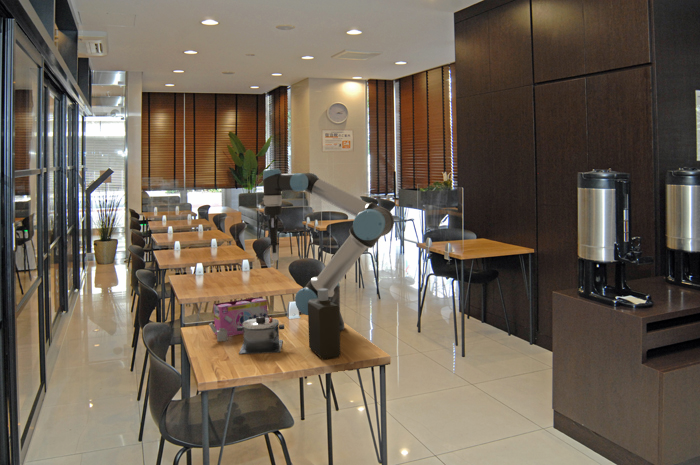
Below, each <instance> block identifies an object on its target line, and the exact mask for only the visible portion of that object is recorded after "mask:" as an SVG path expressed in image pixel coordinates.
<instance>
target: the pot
mask: <svg viewBox="0 0 700 465" xmlns="http://www.w3.org/2000/svg"><path fill="white" fill-rule="evenodd" d="M242 330H243V334H242V336H243V343H242V345H241V347H240V350H239V353H238V354H239V355H253V354H254V355H256V354H277V353H279V354H280V353H281V352H282V347H283V346H282V345H283V342H284V339H280V335H279V334H280V332H279V330H285V324H279V325H278V326H276V327H274V328H270V329H263V330H251V329H246V328H244V327H243V326H238V327H237V331H242Z"/></svg>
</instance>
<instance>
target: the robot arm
mask: <svg viewBox="0 0 700 465" xmlns="http://www.w3.org/2000/svg"><path fill="white" fill-rule="evenodd" d="M262 173H263V175H262V184H263V198H262V201H263V205H265V206H264V207H263V208H264V209H263V210H264V211H263V212H264V213H263V214H264V216H269V218H268V224H269V225H268V226H269V227H268V228H269V234H270V235H269V236H270V237H269V238H270V243H269V247H270V253H271V254H270V256H271V261H278V260H279V251H278V250H279V247H278V245H280V242H279V241H278V229H279V218H277V216H280V215H282V213H283V207H282V204H283V199H282V198H283V197H282V192H297V193H298V192H306V193H309V194H311V195H313V196H315V197H317V198H319V199H320V200H323V201H325V202H327V203H328V204H330V205H333V206H335V207H336V208H338V209H339V210H342V211H343V212H345V213H348V214H349V215H352V216H354V219H353V223H352V226H350V228H349V229H348V230H349V231H348V232H349V236H348V237H347V238H346V240H344V242H343V244H342V245H341V246H340V247H339V249H338V250H337V251H336V252H335V254H334V255H333V256H332V257H331V259H330V260H329V261H328V262H327V264H326V265H325V267H323V269H322V270H321V272H320V273H319V274H318V275H317V276H313V277H311V279H310V280H309V281H308V282H307V284H306V285H305V286H304V287H302V288H300V289H299V290H298V291H297V292H296V293H295V296H294V298H295V299H294V301H295V306H296V308H297V310H298V311H299V312H301V314H303V315H305V316H308V301H309V300H310V299H318V289H322V288H324V289H328V300H329V301H331V302H332V303H334V304H336V305H337V306H338V307H339V316H340V332H342V331H344V329H345V322H344V321H345V320H344V319H343V317H342V314H341V313H342V312H341V291H340V289H341V286H340V282H341V281H342V280H343V278H344V277H345V276H346V275H347V273H349V271H350V270H351V269H352V268H353V266H354V265H355V263H356V262H357V261H358V260H359V258H360V257H361V256H362V255H363V254H364V252H365V251H366V250H367V249H371V248H373V247H374V246H375V245H376V243H377V242H378V241H379V239H380V238H382V237H383V236H386V235H388V234H389V233H390V232H391V231H392V230H393V228H394V226H395V225H394V224H395V218H394V215H393V214H392V212H391V211H390V210H389V209H387V208H385V207H383V206H380V205H378V204H376V203H375V202H373V201H372V202H366V201H365V200H362V199H361V198H359V197H357V196H355V195H353V194H351V193H349V192H347V191H345V190H343V189H341V188H340V187H339V188H338V187H337V186H335V185H333V184H331V183H329V182H327V181H325V180H323V179H321V178H319V177H318V176H317V175H316V174H314V173H311V172H305V173H302V172H301V173H300V172H296V173H295V172H294V173H293V172H292V173H282V172H281V169H279V168H277V169H276V168H273V169H272V168H271V169H270V168H268V169H266V168H265V169H264V170H263V171H262Z"/></svg>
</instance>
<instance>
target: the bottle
mask: <svg viewBox="0 0 700 465" xmlns="http://www.w3.org/2000/svg"><path fill="white" fill-rule="evenodd" d="M307 319H308V325H307V326H308V348H309V349H310V350H312V352H314V353H315V354H316V355H317V356H319V357H320V358H321V360H323V361H324V360H331V359H332V360H333V359H339V358H340V356H341V331H340V316H339V307H338V306H337V305H336V304H334V303H332V302H331V301H329V300H328V289H324V288H322V289H318V299H310V300H309V301H308V315H307Z"/></svg>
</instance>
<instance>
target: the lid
mask: <svg viewBox="0 0 700 465" xmlns="http://www.w3.org/2000/svg"><path fill="white" fill-rule="evenodd" d="M279 325H280V321H279V319H277V318H274V317H268V318H265V317H264V316H259V317H256V318H255V319H250V320H247V321H244V322H243V327H244V328H246V329H251V330H263V329H270V328H274V327H276V326H279Z"/></svg>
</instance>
